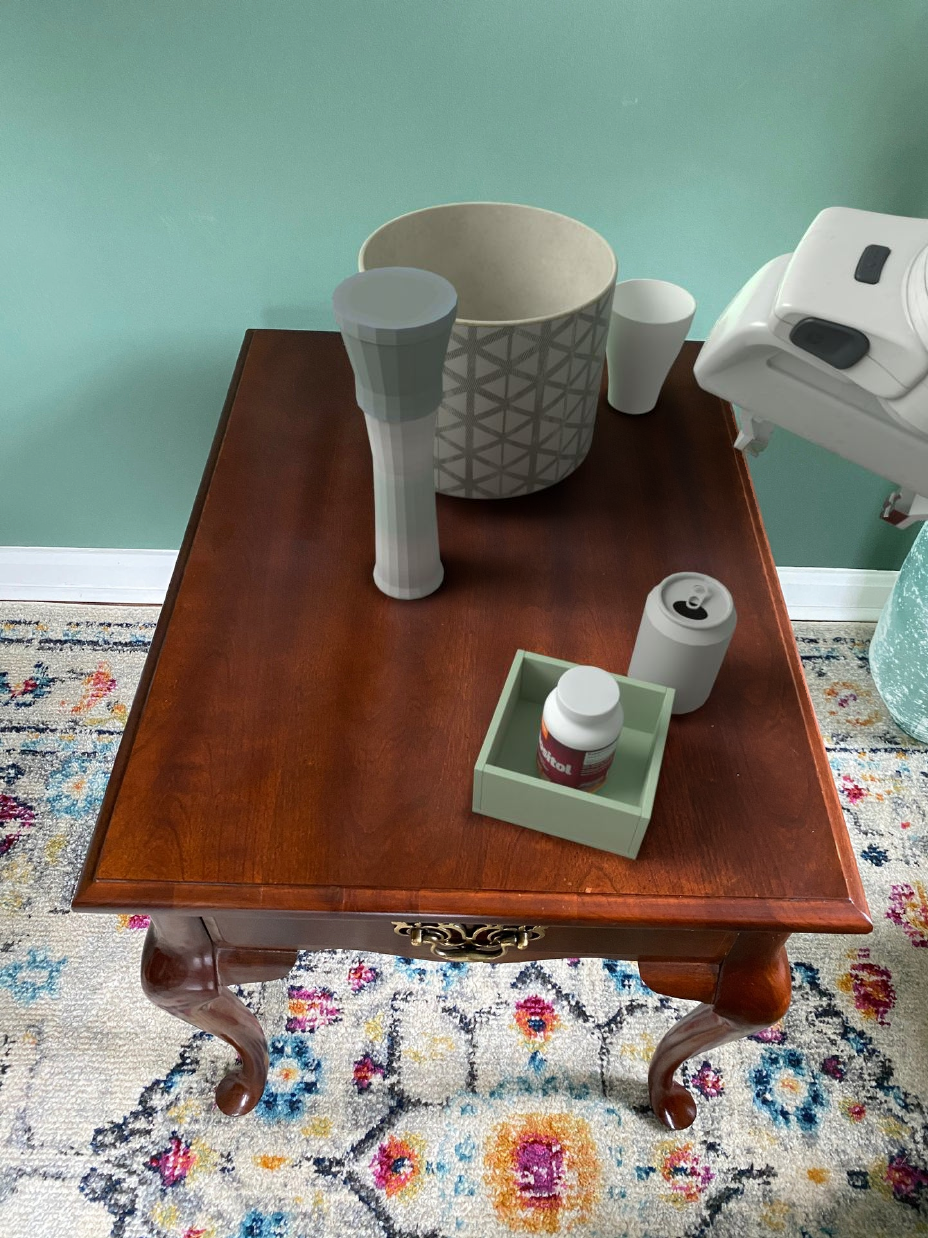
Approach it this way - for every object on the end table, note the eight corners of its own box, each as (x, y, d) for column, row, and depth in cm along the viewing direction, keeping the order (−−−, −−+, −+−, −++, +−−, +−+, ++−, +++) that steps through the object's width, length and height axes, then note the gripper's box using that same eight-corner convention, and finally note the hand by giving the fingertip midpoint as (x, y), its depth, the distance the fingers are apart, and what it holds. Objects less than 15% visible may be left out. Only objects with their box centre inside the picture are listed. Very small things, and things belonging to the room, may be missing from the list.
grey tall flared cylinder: (472, 564, 88) (481, 287, 66) (421, 622, 83) (411, 342, 61) (397, 530, 92) (380, 255, 69) (342, 584, 86) (305, 305, 64)
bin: (660, 734, 75) (676, 689, 70) (635, 860, 67) (650, 819, 62) (513, 695, 77) (518, 648, 72) (472, 811, 70) (474, 768, 65)
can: (613, 699, 77) (636, 610, 68) (642, 643, 82) (666, 552, 73) (693, 732, 75) (727, 645, 66) (718, 673, 79) (753, 583, 70)
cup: (587, 375, 112) (602, 276, 102) (668, 379, 112) (690, 279, 102) (592, 423, 105) (608, 321, 95) (678, 426, 105) (703, 325, 95)
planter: (612, 422, 105) (646, 226, 87) (548, 552, 90) (573, 347, 72) (426, 376, 111) (422, 185, 93) (336, 491, 96) (310, 288, 78)
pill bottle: (521, 753, 73) (531, 673, 64) (583, 726, 75) (600, 645, 66) (559, 812, 69) (575, 735, 61) (623, 782, 71) (646, 704, 63)
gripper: (1211, 389, 38) (994, 514, 51) (793, 189, 39) (686, 363, 52) (1184, 504, 36) (966, 602, 49) (746, 291, 37) (647, 445, 50)
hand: (820, 478), depth 51 cm, fingers open, 8 cm apart
